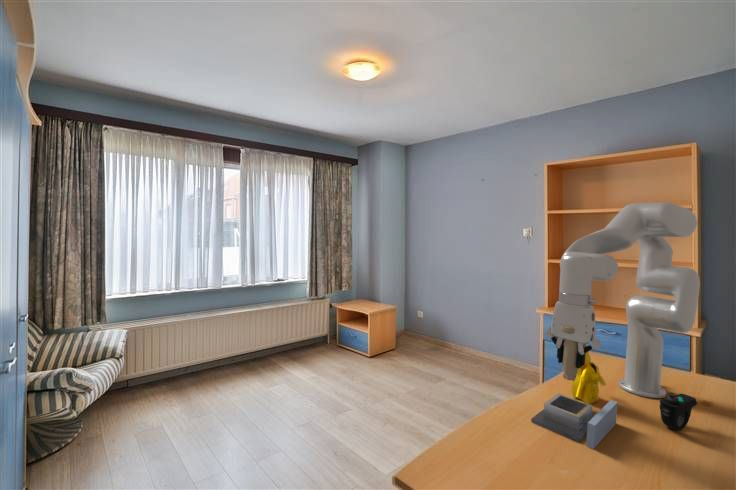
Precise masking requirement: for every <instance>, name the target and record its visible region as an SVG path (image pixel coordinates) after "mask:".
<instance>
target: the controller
mask: <svg viewBox="0 0 736 490" xmlns="http://www.w3.org/2000/svg"><path fill="white" fill-rule="evenodd" d="M666 395H667V396H665V397H663V398H660V400H659V410H660V419H661V422H662V423H663V424H664V425H665V426H666V427H667V428H670V429H673V430H675V431H681V430H683V429H684V428H685V427H686V426H687V424H688V423H689V421H690V417H691V414H692V409H693V408H694V407H695V406H697V405H698V401H697V399H696V398H695V397H693V396H690V395H689V394H684V393H680V394H679V393H678V394H676V393H673V392H666Z"/></svg>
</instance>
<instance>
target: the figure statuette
mask: <svg viewBox="0 0 736 490" xmlns="http://www.w3.org/2000/svg"><path fill="white" fill-rule="evenodd" d="M589 353H590V352H589V351H588V352H587V353H586V354H585V365H584V366H582V367H581V368H578V371H577V374H576V379H575V381H572V380H571V395H572V398H574V399H576V400H580V401H582V402H585V403H588V404H590V405H593V404H594V403H596V402H598V400H599V393H600V392H599V391H600V389H599V385H600V386H601V387H604V386H606V385H607V383H606V381H605V380H604V378H603V376H601V373H600V371H599V370H600V368H599V366H597V365H596V364H595V363H594V362H592V360H591V355H590V354H589Z"/></svg>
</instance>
